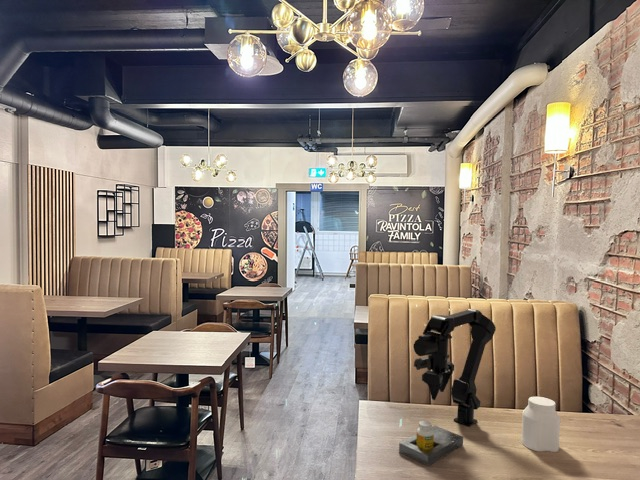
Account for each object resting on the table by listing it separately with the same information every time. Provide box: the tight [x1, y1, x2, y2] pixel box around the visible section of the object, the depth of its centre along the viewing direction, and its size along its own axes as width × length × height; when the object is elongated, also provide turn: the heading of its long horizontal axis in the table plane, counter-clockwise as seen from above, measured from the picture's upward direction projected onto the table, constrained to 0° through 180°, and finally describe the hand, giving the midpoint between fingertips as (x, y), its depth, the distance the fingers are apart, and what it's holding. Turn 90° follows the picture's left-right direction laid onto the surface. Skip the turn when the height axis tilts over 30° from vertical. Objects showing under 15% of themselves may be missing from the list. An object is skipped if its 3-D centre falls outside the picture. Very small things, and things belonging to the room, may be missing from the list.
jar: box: [520, 396, 561, 453], centre depth 155 cm, size 12×10×15 cm
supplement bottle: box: [416, 420, 434, 451], centre depth 148 cm, size 5×5×10 cm
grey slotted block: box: [398, 425, 464, 466], centre depth 151 cm, size 20×11×3 cm, turn 132°
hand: (437, 395), depth 163 cm, fingers open, 9 cm apart
